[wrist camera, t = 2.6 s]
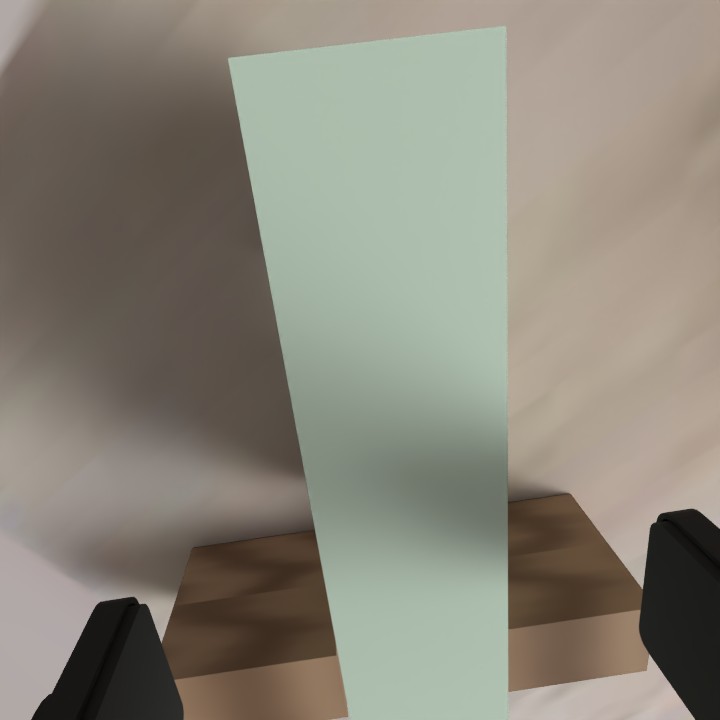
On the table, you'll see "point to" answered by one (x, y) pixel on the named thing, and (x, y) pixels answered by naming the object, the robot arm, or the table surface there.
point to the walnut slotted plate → (316, 635)
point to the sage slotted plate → (395, 349)
